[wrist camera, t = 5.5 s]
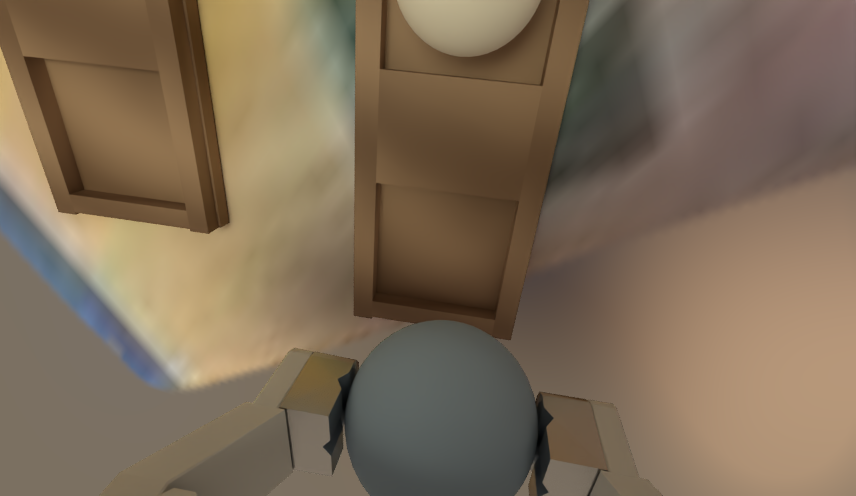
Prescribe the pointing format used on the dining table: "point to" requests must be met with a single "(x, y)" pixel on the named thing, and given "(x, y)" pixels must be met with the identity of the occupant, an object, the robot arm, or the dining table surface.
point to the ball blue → (441, 415)
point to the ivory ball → (467, 23)
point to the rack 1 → (119, 107)
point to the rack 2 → (453, 165)
